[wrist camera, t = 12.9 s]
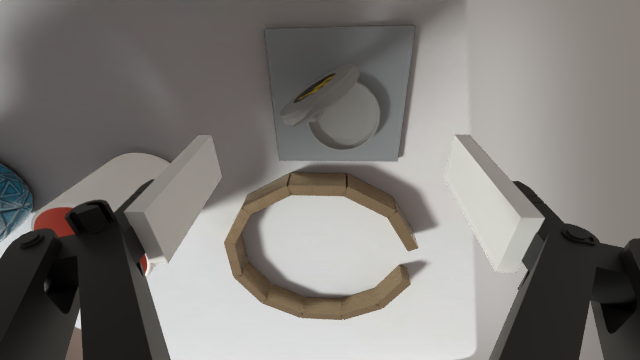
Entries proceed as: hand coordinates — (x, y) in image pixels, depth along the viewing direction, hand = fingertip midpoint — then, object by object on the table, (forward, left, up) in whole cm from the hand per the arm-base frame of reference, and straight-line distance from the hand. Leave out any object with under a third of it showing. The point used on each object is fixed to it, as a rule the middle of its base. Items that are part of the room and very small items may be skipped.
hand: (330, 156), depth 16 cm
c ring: (+19, -2, -12) cm, 23 cm away
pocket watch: (0, 0, -12) cm, 12 cm away
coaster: (0, 0, -12) cm, 12 cm away
